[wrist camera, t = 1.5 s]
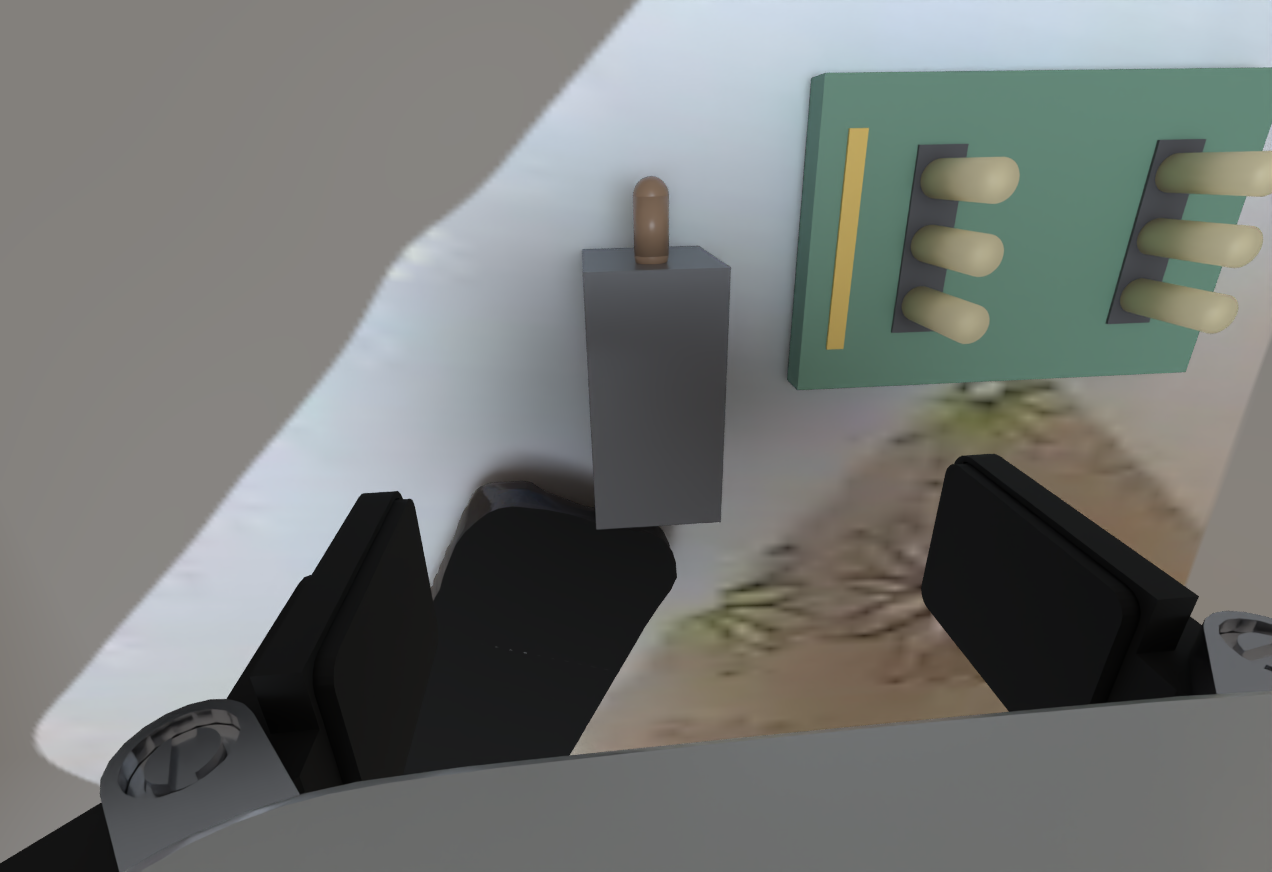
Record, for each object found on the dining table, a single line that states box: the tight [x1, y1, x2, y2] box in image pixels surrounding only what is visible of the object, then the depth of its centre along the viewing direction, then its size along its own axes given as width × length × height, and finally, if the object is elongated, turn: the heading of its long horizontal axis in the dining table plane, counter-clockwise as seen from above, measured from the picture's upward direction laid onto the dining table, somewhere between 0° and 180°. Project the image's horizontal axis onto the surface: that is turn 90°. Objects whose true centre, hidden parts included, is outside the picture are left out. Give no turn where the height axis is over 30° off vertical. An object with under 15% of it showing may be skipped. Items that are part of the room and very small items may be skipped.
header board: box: [787, 68, 1272, 390], centre depth 20 cm, size 10×15×4 cm, turn 91°
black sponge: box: [403, 481, 677, 775], centre depth 26 cm, size 16×8×4 cm, turn 154°
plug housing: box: [582, 176, 731, 530], centre depth 20 cm, size 10×4×5 cm, turn 1°
